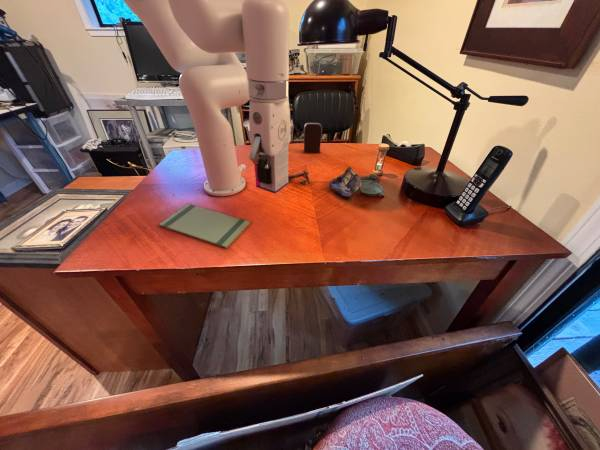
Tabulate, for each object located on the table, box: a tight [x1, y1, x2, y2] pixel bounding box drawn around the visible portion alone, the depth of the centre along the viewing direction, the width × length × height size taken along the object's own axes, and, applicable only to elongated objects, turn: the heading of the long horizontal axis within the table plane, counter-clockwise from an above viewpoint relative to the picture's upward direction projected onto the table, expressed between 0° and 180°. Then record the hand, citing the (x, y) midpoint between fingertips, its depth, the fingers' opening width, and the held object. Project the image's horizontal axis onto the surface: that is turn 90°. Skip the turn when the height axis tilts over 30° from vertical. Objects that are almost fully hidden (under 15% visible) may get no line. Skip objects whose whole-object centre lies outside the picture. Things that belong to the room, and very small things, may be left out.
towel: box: [158, 203, 251, 249], centre depth 60 cm, size 10×20×1 cm, turn 68°
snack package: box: [328, 166, 363, 200], centre depth 74 cm, size 12×6×12 cm
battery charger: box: [303, 121, 323, 154], centre depth 95 cm, size 7×4×11 cm, turn 91°
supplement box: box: [253, 137, 289, 195], centre depth 54 cm, size 6×6×12 cm
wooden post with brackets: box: [288, 170, 311, 185], centre depth 77 cm, size 2×8×4 cm, turn 66°
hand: (272, 175), depth 56 cm, fingers closed on supplement box, 6 cm apart
